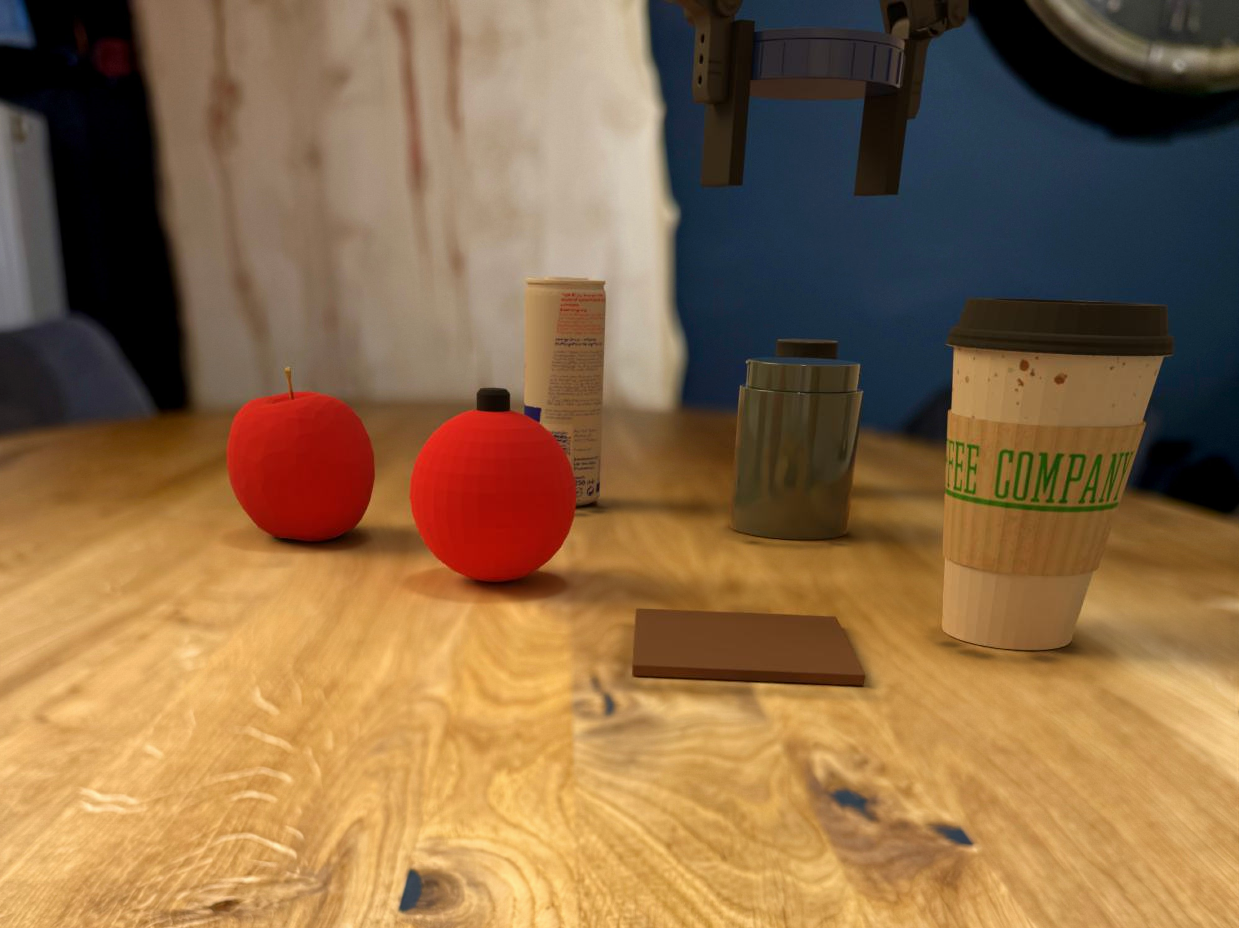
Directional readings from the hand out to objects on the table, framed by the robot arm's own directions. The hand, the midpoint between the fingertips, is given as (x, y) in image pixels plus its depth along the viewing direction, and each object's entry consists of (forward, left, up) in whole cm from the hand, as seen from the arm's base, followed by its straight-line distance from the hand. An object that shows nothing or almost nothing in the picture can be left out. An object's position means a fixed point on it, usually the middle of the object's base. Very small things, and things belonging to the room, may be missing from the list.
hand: (800, 190), depth 63 cm
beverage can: (+13, -24, -20) cm, 34 cm away
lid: (0, 0, +6) cm, 6 cm away
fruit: (+28, -8, -20) cm, 35 cm away
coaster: (+2, +14, -20) cm, 24 cm away
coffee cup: (-11, +9, -20) cm, 24 cm away
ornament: (+15, +2, -20) cm, 25 cm away
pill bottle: (-5, -34, -20) cm, 40 cm away
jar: (-3, -17, -20) cm, 26 cm away
